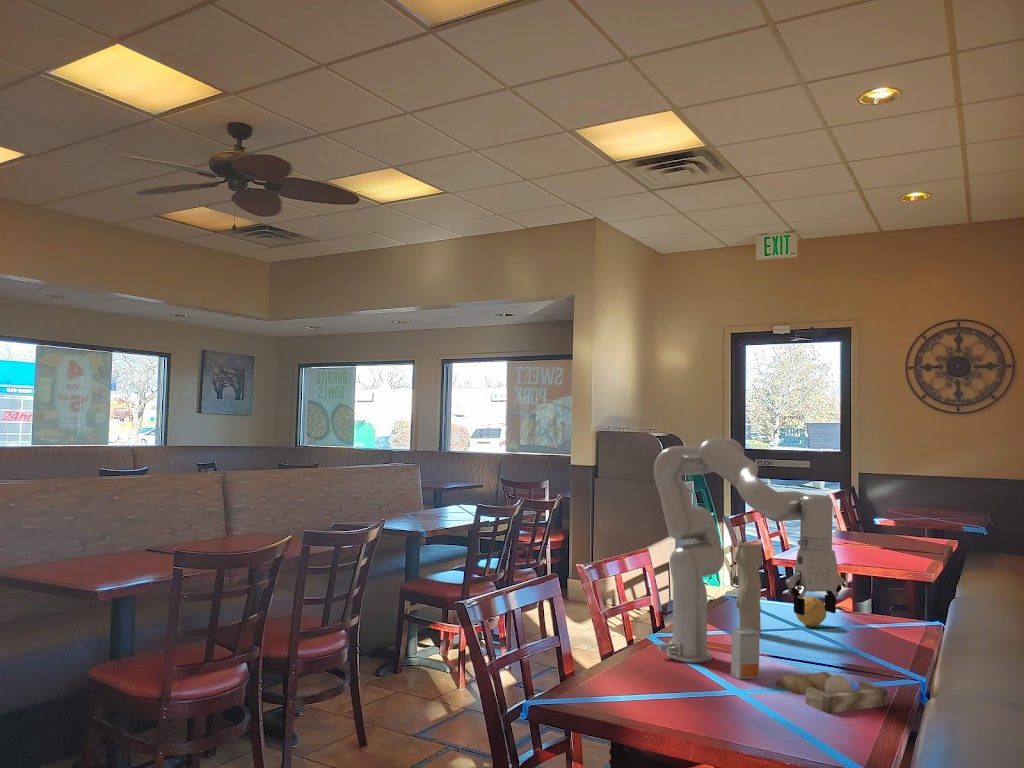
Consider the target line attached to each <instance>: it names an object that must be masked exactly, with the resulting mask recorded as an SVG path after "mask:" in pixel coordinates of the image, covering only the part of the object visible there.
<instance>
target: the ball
mask: <svg viewBox="0 0 1024 768" xmlns="http://www.w3.org/2000/svg"><path fill="white" fill-rule="evenodd" d="M852 689H853V688H852V685H851V683H850V681H849V680H848V679H847V678H845V677H844V676H842V675H839V674H834V675H831V677H829V678H828V679H827V680H826V682H825V691H824V692H825V693H826V694H836V693H844V692H853V691H852Z"/></svg>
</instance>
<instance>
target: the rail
mask: <svg viewBox="0 0 1024 768" xmlns="http://www.w3.org/2000/svg"><path fill="white" fill-rule="evenodd" d="M805 704H807V705H810V706H811V707H814V708H816V709H817V710H820V711H822V712H824V713H826V714H834V713H840V712H848V711H857V710H864V709H874V708H880V707H879V706H882V707H887V706H888V690H887V689H884V688H883V687H880V686H877V685H875V684H872V683H870V682H868V681H865V680H862V681H861V680H860V681H858V690H856V691H852V692H844V693H836V694H826V692H825V691H819V690H817V689H815V688H813V687H806V693H805ZM886 705H887V706H886ZM873 707H874V708H873Z"/></svg>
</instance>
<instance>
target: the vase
mask: <svg viewBox="0 0 1024 768" xmlns="http://www.w3.org/2000/svg"><path fill="white" fill-rule="evenodd" d="M736 543H737V544H736V550H735V553H734V557H733V558H734V560H735V562H736V574H737V577H738V590H737V596H736V600H735V606H736V607H735V608H737V609H738V614H739V616H738V617H739V628H738V629H750V628H751V629H753V630H756V631H758V632H760V634H761V633H762V631H761V629H762V627H761V626H762V625H761V612H762V606H761V602H760V601H761V597H762V596H761V595H762V581H761V577H760V568H762V565H763V561H764V559H763V552H762V549H763V546H764V543H763V542H762V541H758V542H754V544H753V543H752V544H751V543H743V541H741V540H740V539H739V538H738V539H737V540H736Z"/></svg>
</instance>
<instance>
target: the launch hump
mask: <svg viewBox="0 0 1024 768" xmlns="http://www.w3.org/2000/svg"><path fill="white" fill-rule="evenodd" d="M831 676H832V675H831V674H830V673H829V672H825V671H821V672H811V673H802V674H800V673H799V674H792V675H783V676H779V677H778V678H777V679H776V681H775V685H776V686H777V687H779V688H782V689H784V690H786V691H788V692H791V693H793V694H795V695H801V694H802V695H803V694H806V687H813V688H815V689H817V690H819V691H822V692H826V691H825V682H826V680H827V679H828V678H829V677H831Z"/></svg>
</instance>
